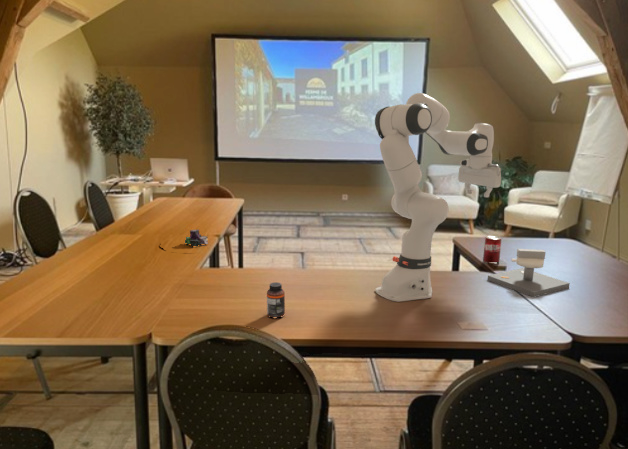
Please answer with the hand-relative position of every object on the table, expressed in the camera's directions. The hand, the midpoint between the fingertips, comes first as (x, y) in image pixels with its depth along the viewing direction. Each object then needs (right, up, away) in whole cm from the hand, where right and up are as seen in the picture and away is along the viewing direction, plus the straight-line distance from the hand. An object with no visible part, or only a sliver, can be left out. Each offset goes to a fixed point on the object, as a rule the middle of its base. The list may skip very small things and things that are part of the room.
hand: (477, 195), depth 204 cm
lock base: (+18, -37, -7) cm, 42 cm away
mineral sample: (-132, -23, +47) cm, 142 cm away
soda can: (+14, -30, +22) cm, 40 cm away
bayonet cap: (+18, -29, -9) cm, 35 cm away
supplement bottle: (-82, -43, -42) cm, 102 cm away
